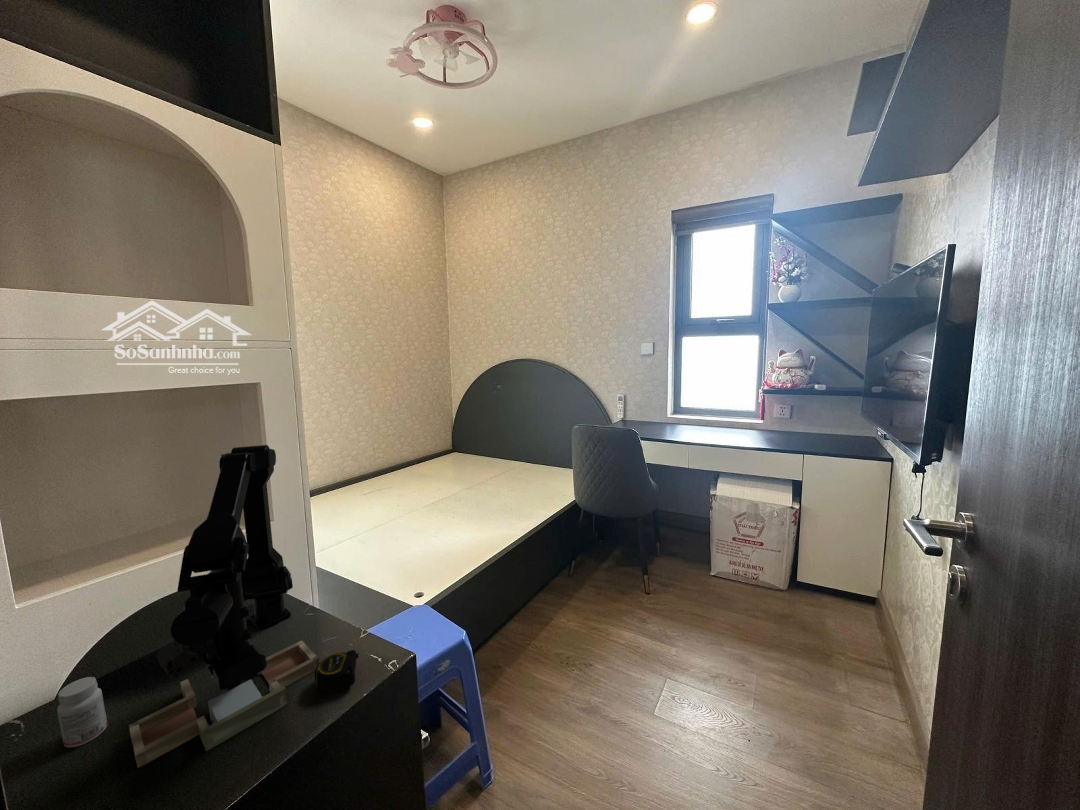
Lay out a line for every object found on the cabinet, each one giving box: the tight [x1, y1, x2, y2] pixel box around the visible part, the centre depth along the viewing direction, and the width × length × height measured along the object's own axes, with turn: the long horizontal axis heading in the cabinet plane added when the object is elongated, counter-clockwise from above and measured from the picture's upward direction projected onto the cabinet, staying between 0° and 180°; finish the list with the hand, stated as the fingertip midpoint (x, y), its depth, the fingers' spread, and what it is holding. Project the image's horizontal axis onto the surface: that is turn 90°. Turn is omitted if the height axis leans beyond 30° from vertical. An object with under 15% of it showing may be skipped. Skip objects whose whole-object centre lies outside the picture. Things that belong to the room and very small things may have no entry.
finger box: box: [128, 640, 320, 769], centre depth 73 cm, size 18×25×3 cm
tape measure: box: [314, 649, 359, 694], centre depth 76 cm, size 7×7×4 cm
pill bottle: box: [56, 676, 108, 748], centre depth 66 cm, size 5×5×8 cm
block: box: [207, 679, 263, 724], centre depth 69 cm, size 6×6×4 cm
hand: (233, 692), depth 72 cm, fingers closed
